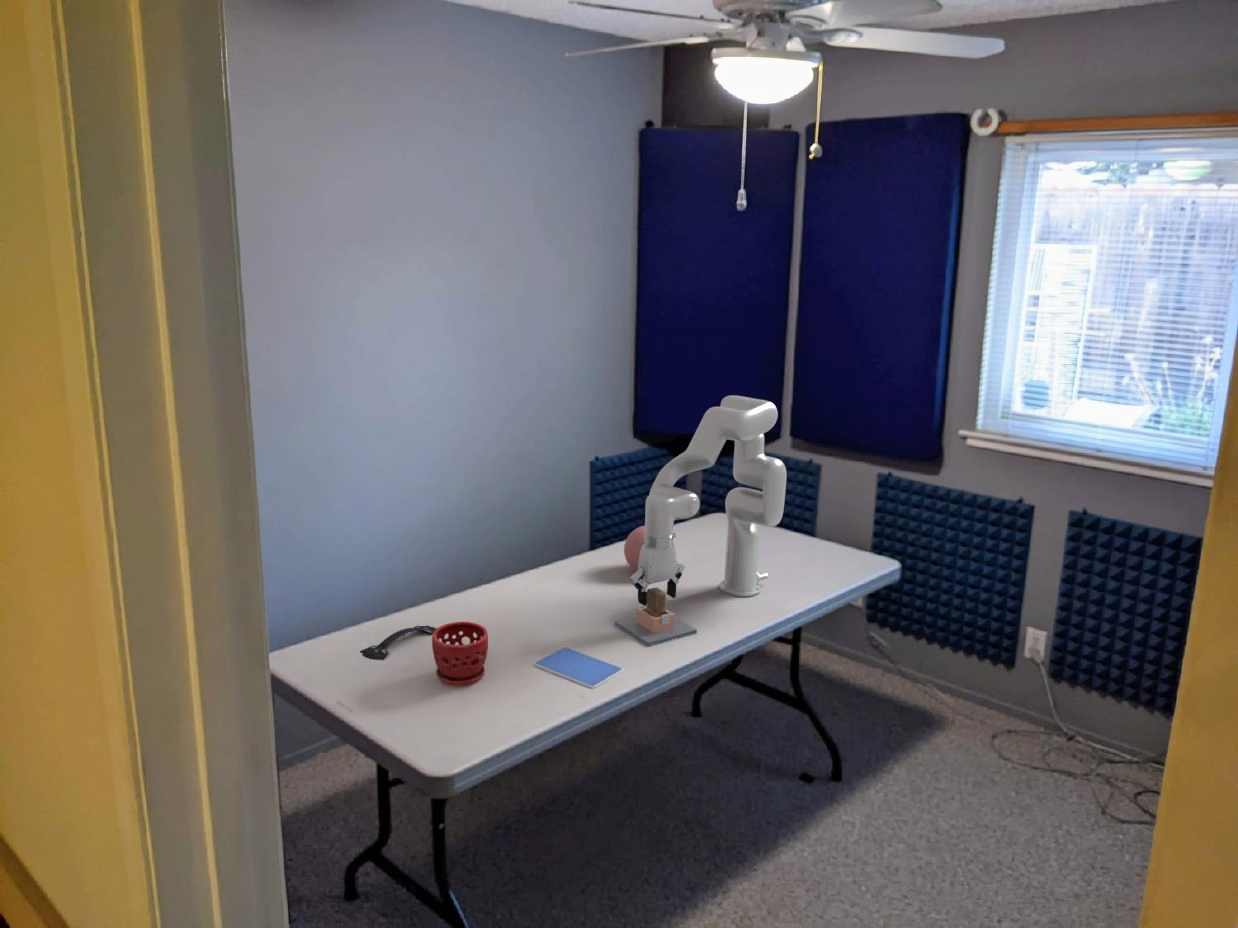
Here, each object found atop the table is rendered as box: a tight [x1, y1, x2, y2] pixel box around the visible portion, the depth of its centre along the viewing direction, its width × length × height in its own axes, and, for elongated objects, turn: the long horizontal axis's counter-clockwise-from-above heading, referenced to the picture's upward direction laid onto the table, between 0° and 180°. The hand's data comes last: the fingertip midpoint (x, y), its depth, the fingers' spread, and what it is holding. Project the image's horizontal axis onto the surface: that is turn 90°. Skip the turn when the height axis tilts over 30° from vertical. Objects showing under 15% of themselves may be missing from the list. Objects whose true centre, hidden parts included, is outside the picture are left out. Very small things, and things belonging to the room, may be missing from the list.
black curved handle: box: [359, 624, 438, 661], centre depth 246 cm, size 9×25×3 cm, turn 146°
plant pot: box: [431, 621, 489, 687], centre depth 226 cm, size 13×13×12 cm
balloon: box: [623, 525, 645, 572], centre depth 298 cm, size 15×20×15 cm
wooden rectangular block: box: [646, 587, 667, 618], centre depth 256 cm, size 3×4×10 cm, turn 32°
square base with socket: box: [614, 606, 698, 647], centre depth 257 cm, size 16×16×6 cm
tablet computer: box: [533, 646, 624, 690], centre depth 234 cm, size 19×13×1 cm, turn 53°
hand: (656, 599), depth 256 cm, fingers open, 9 cm apart
